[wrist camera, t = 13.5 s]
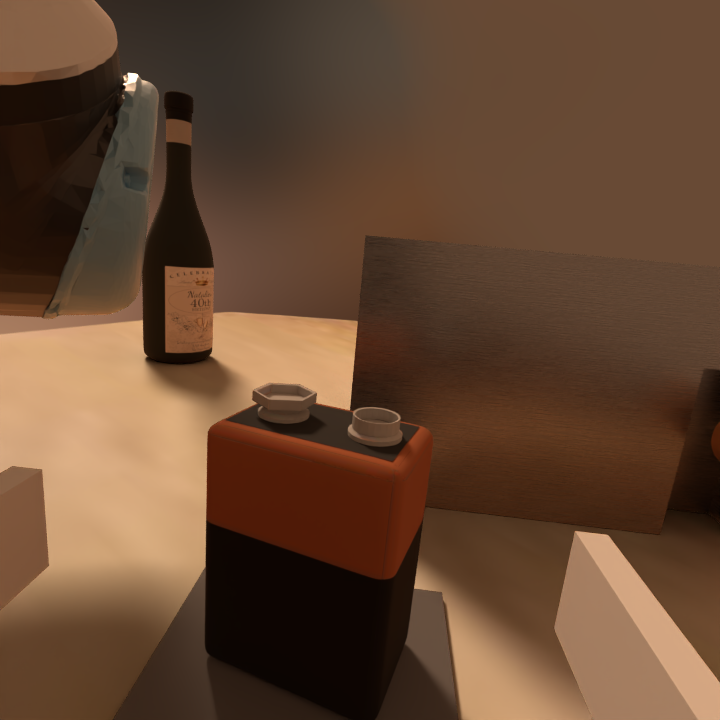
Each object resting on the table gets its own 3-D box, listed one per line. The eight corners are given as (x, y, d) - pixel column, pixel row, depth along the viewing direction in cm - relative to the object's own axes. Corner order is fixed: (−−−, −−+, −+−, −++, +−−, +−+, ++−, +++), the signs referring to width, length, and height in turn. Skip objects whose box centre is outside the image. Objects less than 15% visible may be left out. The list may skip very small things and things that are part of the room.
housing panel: (342, 496, 30) (365, 235, 26) (348, 468, 34) (369, 237, 30) (771, 548, 29) (858, 279, 25) (726, 512, 32) (796, 275, 29)
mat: (108, 734, 15) (108, 727, 15) (208, 567, 23) (208, 561, 22) (464, 788, 14) (466, 781, 14) (441, 597, 22) (441, 592, 22)
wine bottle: (225, 358, 61) (231, 102, 54) (174, 369, 54) (174, 78, 47) (182, 347, 65) (182, 106, 58) (129, 356, 58) (122, 84, 51)
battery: (263, 584, 21) (273, 369, 19) (409, 639, 19) (440, 402, 17) (197, 658, 17) (200, 397, 15) (372, 738, 15) (407, 446, 13)
